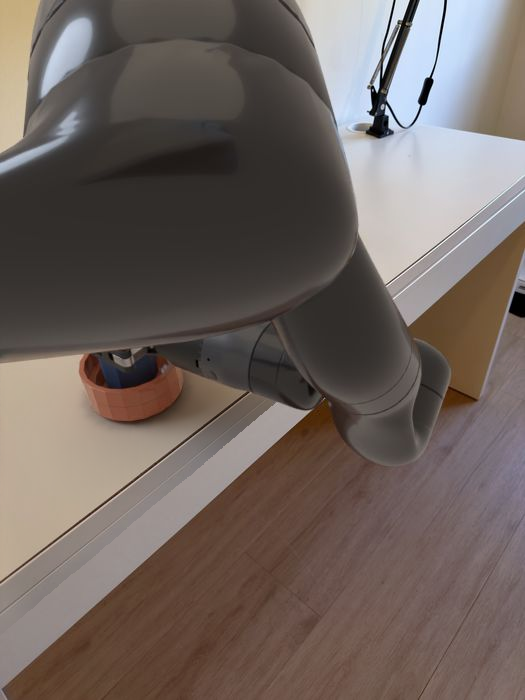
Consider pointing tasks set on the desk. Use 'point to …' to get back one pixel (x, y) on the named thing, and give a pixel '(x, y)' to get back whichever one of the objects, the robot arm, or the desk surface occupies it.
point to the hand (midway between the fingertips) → (96, 299)
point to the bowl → (130, 391)
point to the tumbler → (142, 374)
